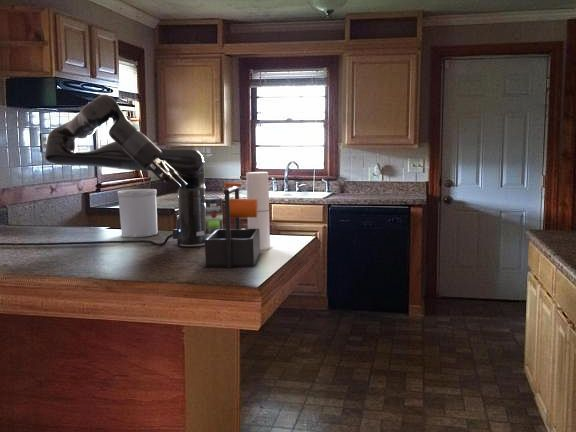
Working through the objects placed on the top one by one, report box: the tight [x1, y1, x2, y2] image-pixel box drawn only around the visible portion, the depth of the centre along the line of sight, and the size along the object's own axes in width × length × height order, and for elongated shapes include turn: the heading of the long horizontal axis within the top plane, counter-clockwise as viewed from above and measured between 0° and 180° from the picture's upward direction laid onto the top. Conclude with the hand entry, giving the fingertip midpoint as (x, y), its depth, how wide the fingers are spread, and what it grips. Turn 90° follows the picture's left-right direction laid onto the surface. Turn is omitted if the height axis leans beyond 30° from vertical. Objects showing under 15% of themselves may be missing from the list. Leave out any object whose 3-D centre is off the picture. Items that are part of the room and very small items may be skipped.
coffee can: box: [205, 196, 224, 237], centre depth 246 cm, size 10×10×14 cm
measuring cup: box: [224, 182, 257, 218], centre depth 188 cm, size 10×5×9 cm
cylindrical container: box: [245, 171, 271, 251], centre depth 210 cm, size 7×7×25 cm
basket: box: [204, 187, 261, 269], centre depth 189 cm, size 14×24×22 cm, turn 178°
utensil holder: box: [116, 188, 158, 238], centre depth 249 cm, size 15×15×18 cm
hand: (181, 187), depth 188 cm, fingers open, 8 cm apart
